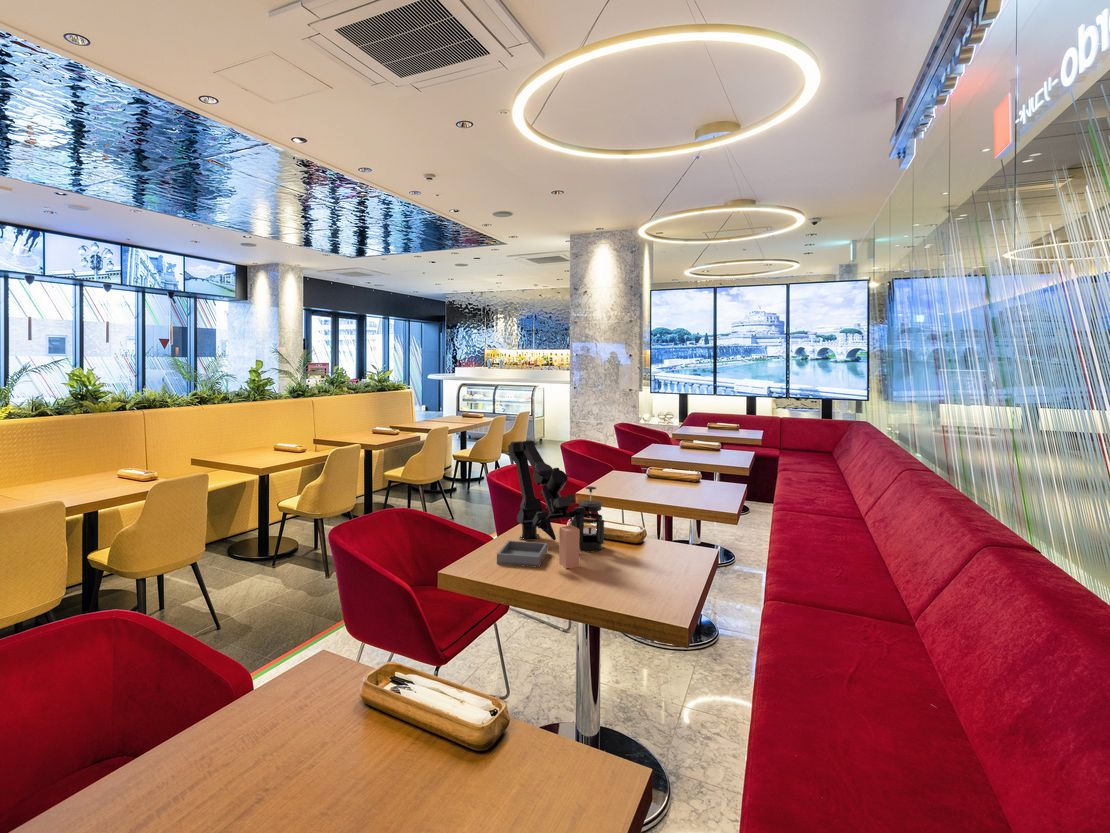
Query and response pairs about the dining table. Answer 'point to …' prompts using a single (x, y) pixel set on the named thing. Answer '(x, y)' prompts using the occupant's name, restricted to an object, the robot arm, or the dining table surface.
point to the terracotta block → (569, 546)
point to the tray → (522, 553)
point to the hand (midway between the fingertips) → (567, 538)
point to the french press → (588, 534)
